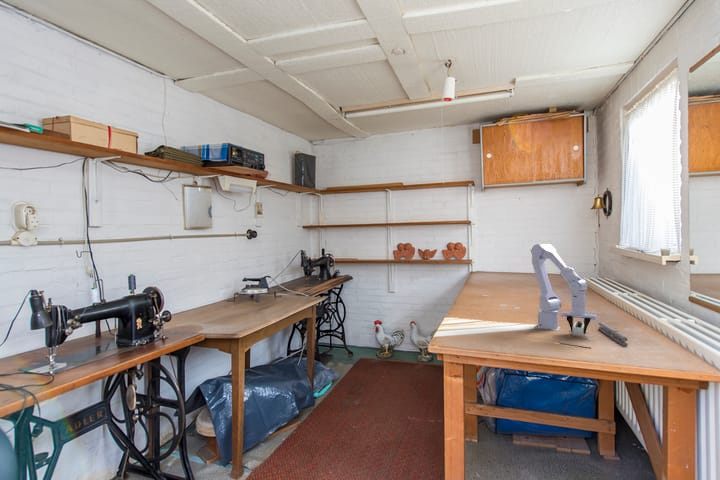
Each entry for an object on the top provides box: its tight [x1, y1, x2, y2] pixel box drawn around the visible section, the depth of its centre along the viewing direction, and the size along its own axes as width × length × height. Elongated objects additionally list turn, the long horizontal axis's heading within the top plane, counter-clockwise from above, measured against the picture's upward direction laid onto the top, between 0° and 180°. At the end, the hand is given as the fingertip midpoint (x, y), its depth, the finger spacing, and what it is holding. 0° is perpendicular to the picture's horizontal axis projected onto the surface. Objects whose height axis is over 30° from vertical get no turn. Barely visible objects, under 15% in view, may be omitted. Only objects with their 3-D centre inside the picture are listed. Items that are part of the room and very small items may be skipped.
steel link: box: [572, 321, 584, 337], centre depth 176 cm, size 4×12×4 cm, turn 144°
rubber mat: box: [558, 342, 592, 350], centre depth 164 cm, size 12×12×1 cm
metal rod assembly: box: [598, 321, 629, 347], centre depth 170 cm, size 26×3×5 cm, turn 167°
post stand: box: [567, 321, 591, 340], centre depth 176 cm, size 8×16×6 cm, turn 144°
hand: (578, 332), depth 174 cm, fingers closed on steel link, 4 cm apart
